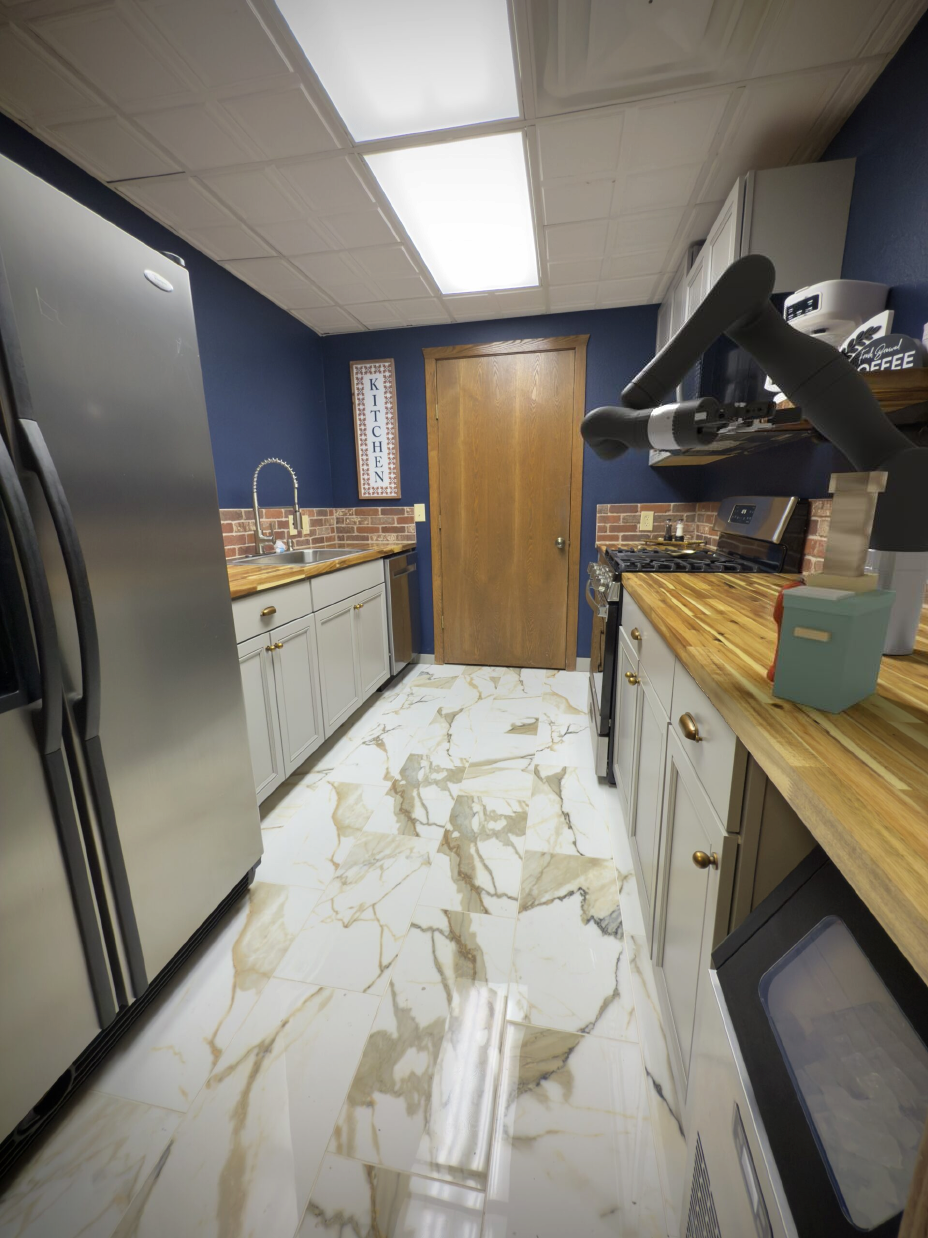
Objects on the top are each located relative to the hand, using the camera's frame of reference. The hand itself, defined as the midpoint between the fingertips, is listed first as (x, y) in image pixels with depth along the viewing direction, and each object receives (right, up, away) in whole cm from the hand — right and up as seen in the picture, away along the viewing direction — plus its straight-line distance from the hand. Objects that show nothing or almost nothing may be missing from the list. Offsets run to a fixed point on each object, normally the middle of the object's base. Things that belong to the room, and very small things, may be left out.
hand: (789, 411), depth 69 cm
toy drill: (+5, -38, +7) cm, 39 cm away
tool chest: (+3, -40, -3) cm, 40 cm away
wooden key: (+5, -25, -3) cm, 26 cm away
